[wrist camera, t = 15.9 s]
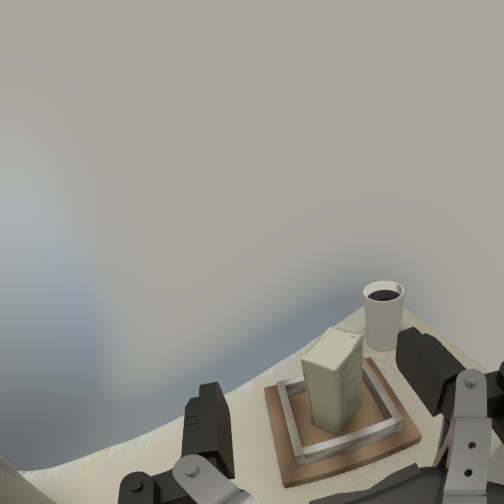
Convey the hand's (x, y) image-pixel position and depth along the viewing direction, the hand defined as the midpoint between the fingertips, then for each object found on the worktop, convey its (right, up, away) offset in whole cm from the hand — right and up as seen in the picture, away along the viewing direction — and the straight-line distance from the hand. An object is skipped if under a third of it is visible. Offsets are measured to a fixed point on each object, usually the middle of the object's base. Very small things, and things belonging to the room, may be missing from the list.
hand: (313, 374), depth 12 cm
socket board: (+9, -17, +23) cm, 30 cm away
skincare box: (+8, -16, +22) cm, 28 cm away
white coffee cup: (+20, -10, +35) cm, 42 cm away
